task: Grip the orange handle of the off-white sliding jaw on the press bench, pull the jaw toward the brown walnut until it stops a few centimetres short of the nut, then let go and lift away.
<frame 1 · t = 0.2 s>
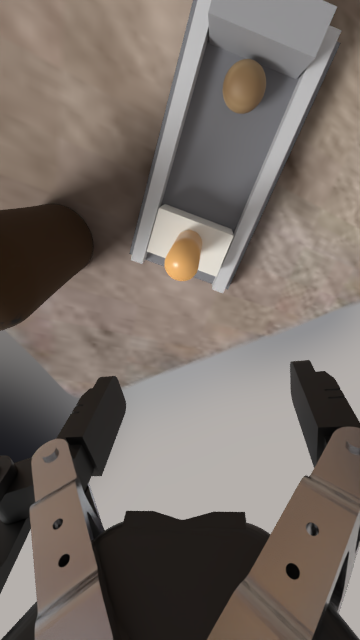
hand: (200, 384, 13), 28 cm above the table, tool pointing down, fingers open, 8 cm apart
olive oil: (60, 239, 39), on the table
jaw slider: (187, 248, 30), point 8 cm above the table, slide at 0.0 cm
press bench: (215, 167, 33), on the table
walnut: (244, 87, 27), in the press bench, point 4 cm above the table
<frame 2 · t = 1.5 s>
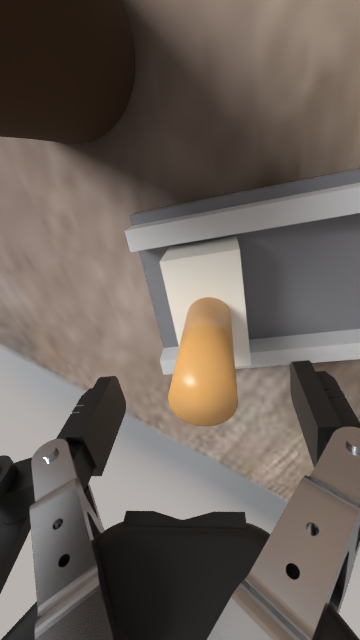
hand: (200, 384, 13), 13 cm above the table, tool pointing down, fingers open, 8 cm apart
olive oil: (67, 58, 19), on the table
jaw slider: (207, 332, 18), point 8 cm above the table, slide at 0.0 cm
press bench: (309, 273, 23), on the table
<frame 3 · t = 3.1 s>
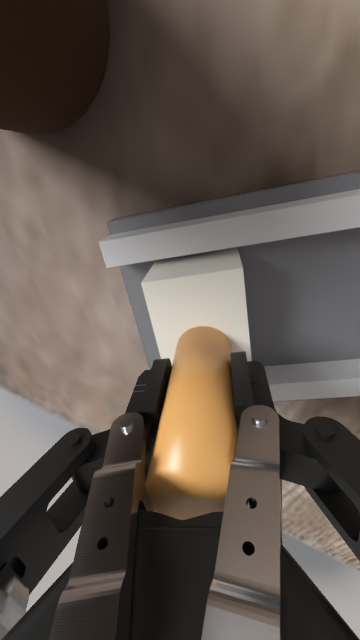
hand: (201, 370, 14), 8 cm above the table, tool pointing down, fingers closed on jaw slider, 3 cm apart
olive oil: (23, 24, 15), on the table
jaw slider: (202, 372, 14), point 8 cm above the table, slide at 0.0 cm, touching gripper
press bench: (323, 290, 19), on the table
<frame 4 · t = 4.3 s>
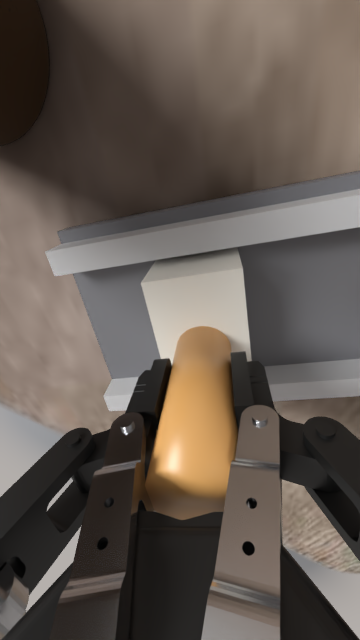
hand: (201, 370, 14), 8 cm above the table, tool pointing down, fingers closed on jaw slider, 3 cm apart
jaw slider: (201, 372, 14), point 8 cm above the table, slide at 3.4 cm, touching gripper
press bench: (272, 297, 20), on the table
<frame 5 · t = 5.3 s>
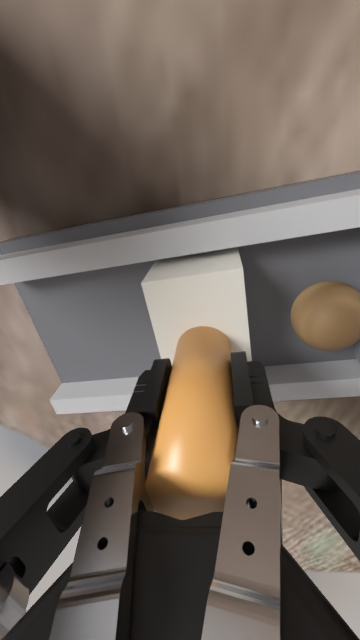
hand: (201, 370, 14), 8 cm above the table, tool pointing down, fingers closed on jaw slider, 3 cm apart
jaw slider: (202, 372, 14), point 8 cm above the table, slide at 7.9 cm, touching gripper
press bench: (208, 305, 21), on the table
walnut: (328, 315, 16), in the press bench, point 4 cm above the table
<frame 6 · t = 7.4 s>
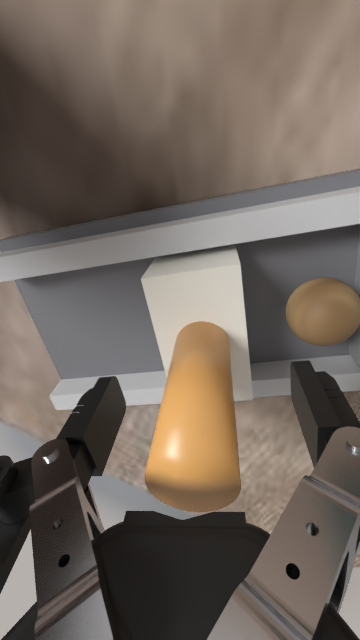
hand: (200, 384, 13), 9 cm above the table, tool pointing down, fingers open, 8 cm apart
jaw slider: (200, 366, 14), point 8 cm above the table, slide at 8.0 cm
press bench: (205, 302, 21), on the table
walnut: (322, 311, 17), in the press bench, point 4 cm above the table
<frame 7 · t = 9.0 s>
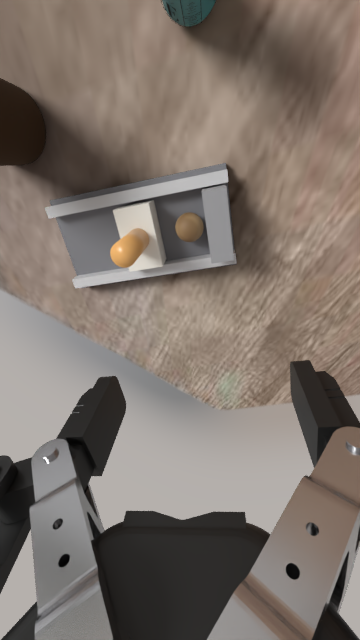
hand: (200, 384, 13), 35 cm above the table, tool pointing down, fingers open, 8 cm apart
olive oil: (14, 125, 39), on the table
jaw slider: (135, 242, 37), point 8 cm above the table, slide at 8.0 cm
press bench: (146, 231, 44), on the table
walnut: (189, 227, 40), point 4 cm above the table
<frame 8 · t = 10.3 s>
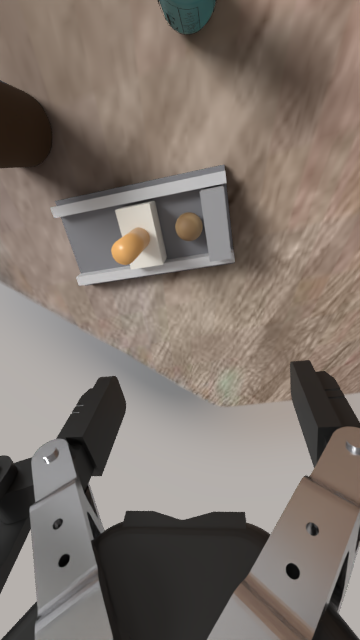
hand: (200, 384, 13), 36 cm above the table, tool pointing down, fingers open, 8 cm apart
olive oil: (22, 129, 41), on the table
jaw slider: (136, 241, 39), point 8 cm above the table, slide at 8.0 cm
beverage bottle: (189, 6, 33), on the table
press bench: (148, 230, 46), on the table
walnut: (188, 226, 41), in the press bench, point 4 cm above the table
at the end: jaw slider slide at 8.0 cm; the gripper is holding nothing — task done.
